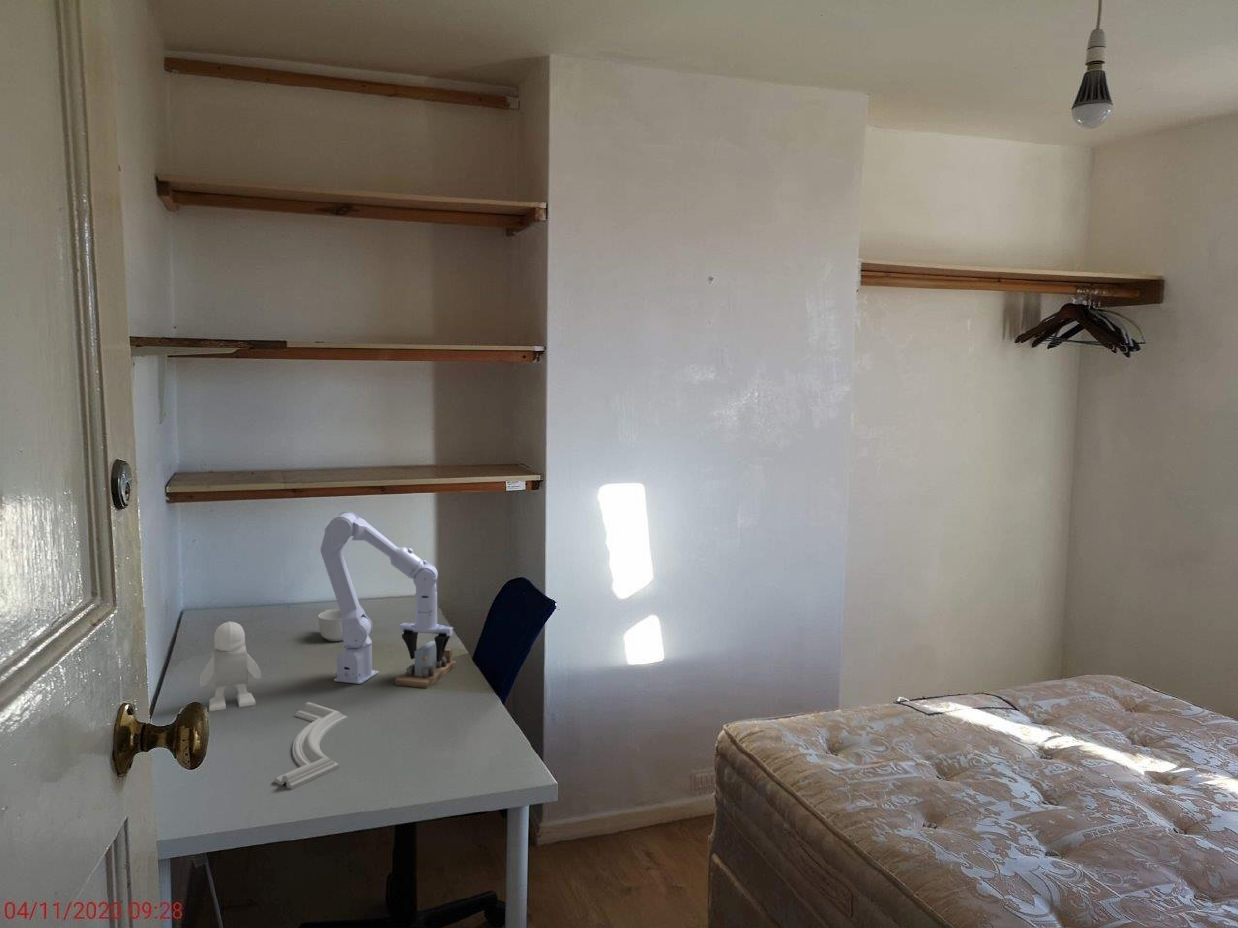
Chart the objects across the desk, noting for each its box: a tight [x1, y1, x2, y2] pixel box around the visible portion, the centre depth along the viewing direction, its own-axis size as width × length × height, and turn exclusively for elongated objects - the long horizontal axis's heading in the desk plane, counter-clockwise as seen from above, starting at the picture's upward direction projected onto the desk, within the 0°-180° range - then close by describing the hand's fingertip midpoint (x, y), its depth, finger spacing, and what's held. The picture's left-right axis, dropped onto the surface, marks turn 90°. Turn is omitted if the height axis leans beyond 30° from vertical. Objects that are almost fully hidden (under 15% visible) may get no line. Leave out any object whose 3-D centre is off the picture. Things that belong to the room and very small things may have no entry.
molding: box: [273, 701, 349, 790], centre depth 192 cm, size 42×12×3 cm, turn 13°
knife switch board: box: [394, 647, 457, 689], centre depth 237 cm, size 18×9×5 cm, turn 166°
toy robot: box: [198, 621, 262, 712], centre depth 215 cm, size 14×9×20 cm, turn 117°
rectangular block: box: [414, 640, 437, 676], centre depth 236 cm, size 10×3×6 cm, turn 166°
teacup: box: [317, 608, 343, 642], centre depth 270 cm, size 14×11×8 cm
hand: (426, 659), depth 237 cm, fingers open, 7 cm apart
